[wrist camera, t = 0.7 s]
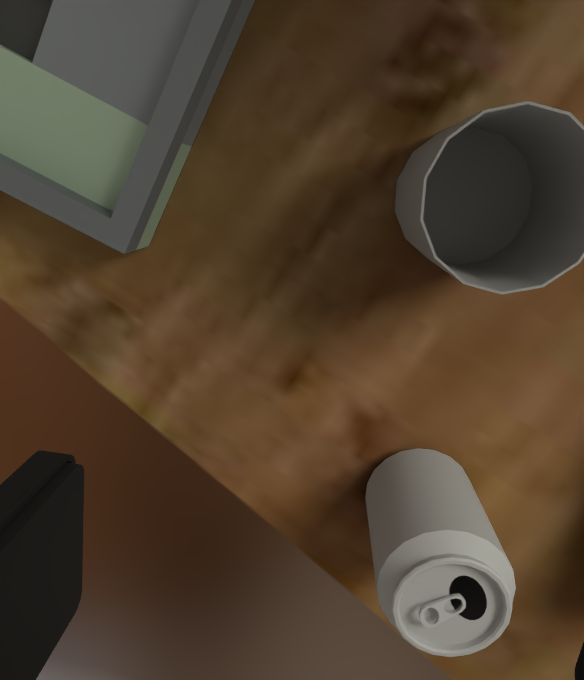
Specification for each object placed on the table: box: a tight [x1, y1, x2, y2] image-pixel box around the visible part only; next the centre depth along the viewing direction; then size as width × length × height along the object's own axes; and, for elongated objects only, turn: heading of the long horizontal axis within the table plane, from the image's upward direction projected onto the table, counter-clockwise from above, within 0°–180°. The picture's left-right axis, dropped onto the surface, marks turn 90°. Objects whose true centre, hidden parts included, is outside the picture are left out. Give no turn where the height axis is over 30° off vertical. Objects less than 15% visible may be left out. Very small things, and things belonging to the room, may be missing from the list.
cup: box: [394, 101, 584, 294], centre depth 30 cm, size 8×8×10 cm
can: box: [365, 448, 516, 657], centre depth 34 cm, size 8×8×12 cm
